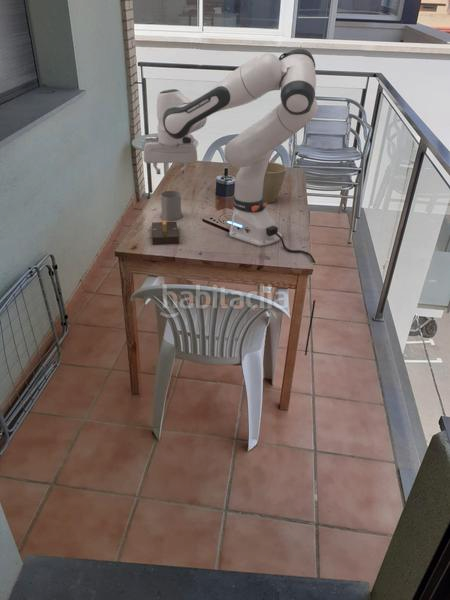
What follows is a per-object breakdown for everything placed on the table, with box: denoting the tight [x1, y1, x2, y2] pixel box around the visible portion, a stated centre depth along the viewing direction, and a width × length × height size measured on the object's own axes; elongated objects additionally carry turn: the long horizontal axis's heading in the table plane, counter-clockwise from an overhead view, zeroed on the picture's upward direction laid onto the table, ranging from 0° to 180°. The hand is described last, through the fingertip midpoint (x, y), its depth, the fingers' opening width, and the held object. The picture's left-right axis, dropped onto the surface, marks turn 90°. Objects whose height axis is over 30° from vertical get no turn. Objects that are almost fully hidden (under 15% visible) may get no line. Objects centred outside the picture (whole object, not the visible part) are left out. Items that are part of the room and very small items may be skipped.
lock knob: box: [161, 218, 167, 232], centre depth 185 cm, size 5×1×3 cm, turn 8°
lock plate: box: [151, 221, 180, 245], centre depth 186 cm, size 14×10×3 cm
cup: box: [160, 190, 182, 221], centre depth 201 cm, size 8×8×10 cm
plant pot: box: [262, 161, 287, 204], centre depth 217 cm, size 15×15×16 cm
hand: (170, 173), depth 180 cm, fingers open, 8 cm apart
